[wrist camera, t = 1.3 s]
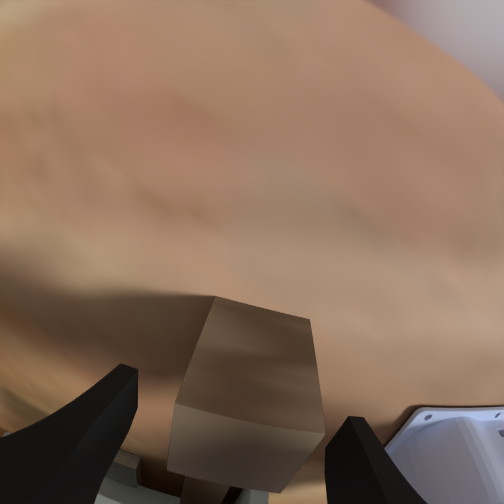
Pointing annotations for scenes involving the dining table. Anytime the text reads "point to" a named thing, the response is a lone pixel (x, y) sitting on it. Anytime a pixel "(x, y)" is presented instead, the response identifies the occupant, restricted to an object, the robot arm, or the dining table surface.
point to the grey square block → (125, 469)
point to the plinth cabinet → (159, 495)
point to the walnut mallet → (246, 404)
